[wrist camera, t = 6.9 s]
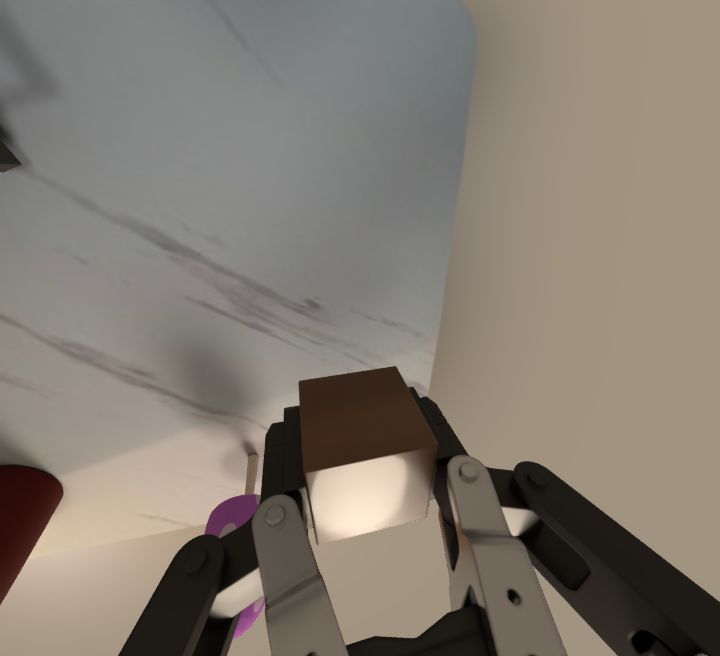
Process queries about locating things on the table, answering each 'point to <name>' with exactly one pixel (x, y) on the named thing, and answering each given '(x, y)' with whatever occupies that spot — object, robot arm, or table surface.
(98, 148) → the table surface
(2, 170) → the drawer
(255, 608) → the toy
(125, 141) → the table surface
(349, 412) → the block
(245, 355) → the table surface
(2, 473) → the mug
